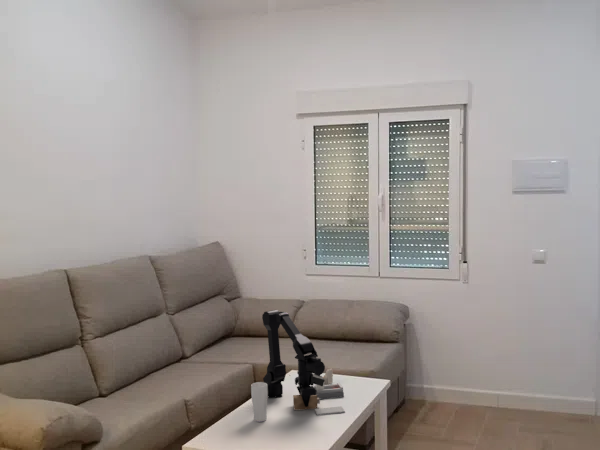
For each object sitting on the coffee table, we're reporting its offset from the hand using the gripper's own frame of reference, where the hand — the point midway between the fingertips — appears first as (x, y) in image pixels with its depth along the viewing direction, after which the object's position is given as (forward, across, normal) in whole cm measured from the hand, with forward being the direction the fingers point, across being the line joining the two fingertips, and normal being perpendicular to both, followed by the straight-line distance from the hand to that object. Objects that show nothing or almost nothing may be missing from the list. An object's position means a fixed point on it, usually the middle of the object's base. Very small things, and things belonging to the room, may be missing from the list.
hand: (305, 405), depth 266 cm
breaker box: (+1, +14, -13) cm, 19 cm away
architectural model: (+2, +30, -17) cm, 35 cm away
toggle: (-1, +14, -9) cm, 17 cm away
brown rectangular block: (+1, 0, 0) cm, 1 cm away
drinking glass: (+1, -9, +21) cm, 23 cm away
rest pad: (+1, -7, -9) cm, 11 cm away
